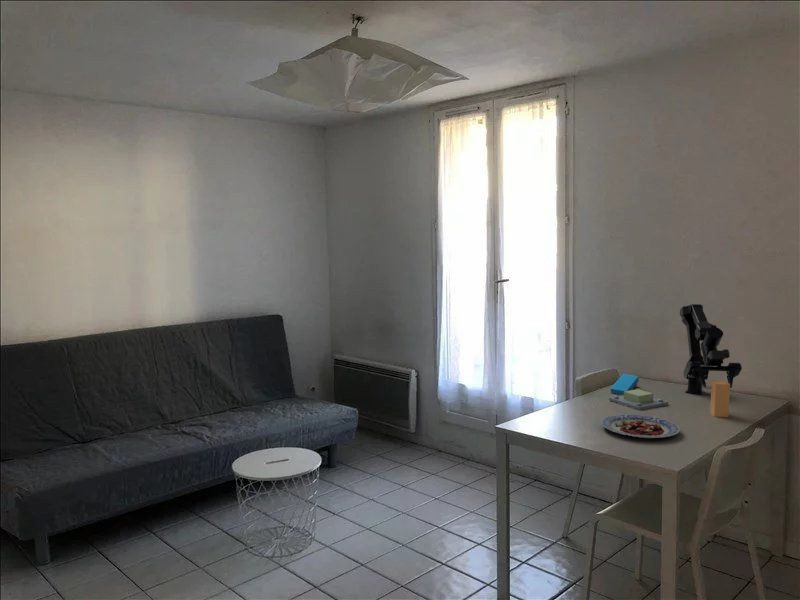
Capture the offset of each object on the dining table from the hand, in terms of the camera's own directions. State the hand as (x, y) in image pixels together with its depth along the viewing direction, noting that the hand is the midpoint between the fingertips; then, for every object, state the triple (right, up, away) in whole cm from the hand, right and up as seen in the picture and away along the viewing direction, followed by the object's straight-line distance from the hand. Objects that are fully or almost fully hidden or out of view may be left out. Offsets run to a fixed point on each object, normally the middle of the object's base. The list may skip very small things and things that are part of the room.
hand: (718, 387), depth 246 cm
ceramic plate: (-37, -13, -19) cm, 44 cm away
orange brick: (0, -10, -2) cm, 10 cm away
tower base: (-24, -8, +16) cm, 30 cm away
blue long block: (-22, -7, +36) cm, 43 cm away
